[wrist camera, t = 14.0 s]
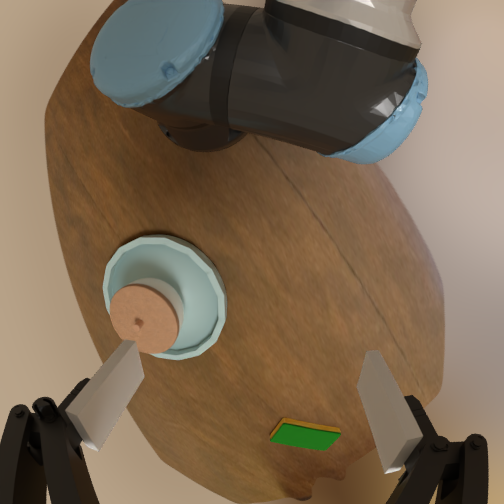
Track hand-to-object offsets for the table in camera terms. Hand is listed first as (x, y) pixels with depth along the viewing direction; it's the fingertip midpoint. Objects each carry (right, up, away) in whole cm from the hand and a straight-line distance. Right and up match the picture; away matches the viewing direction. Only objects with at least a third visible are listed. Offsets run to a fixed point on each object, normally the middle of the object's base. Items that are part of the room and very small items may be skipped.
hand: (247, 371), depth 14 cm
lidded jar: (-14, -1, +28) cm, 32 cm away
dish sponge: (+12, -32, +36) cm, 50 cm away
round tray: (-14, -1, +29) cm, 32 cm away
